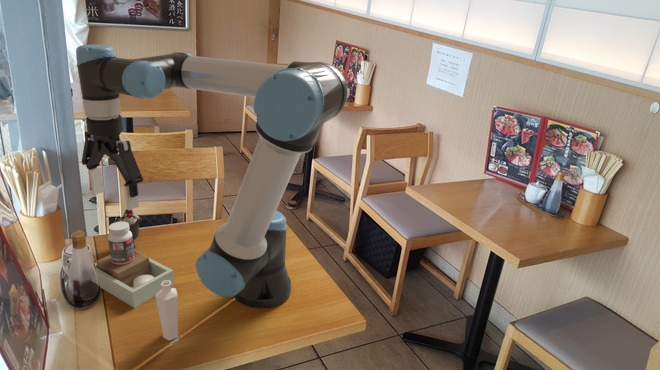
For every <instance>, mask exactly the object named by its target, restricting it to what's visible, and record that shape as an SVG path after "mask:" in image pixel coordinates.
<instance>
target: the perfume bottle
mask: <svg viewBox="0 0 660 370" xmlns="http://www.w3.org/2000/svg"><path fill="white" fill-rule="evenodd" d="M161 286H162V289H161V290H160V291H159V292H158V293H157V294H156V296H155V301H156V306H157V311H158V315H159V321H160V326H161V330H162V338H164V339H165V340H166V341H170V342H169V343H168V345H169V344H170V345H172V344H174V343H176V342H178V341H180V336H179V333H178V332H179V331H178V329H179V328H178V319H179V318H178V315H179V314H178V313H179V312H178V308H179V307H178V306H179V305H178V299H179V298H178V291H177V288H175V287H171V281H163V282H162V283H161Z"/></svg>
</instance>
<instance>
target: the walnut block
mask: <svg viewBox="0 0 660 370" xmlns="http://www.w3.org/2000/svg"><path fill="white" fill-rule="evenodd" d="M136 251H137V250H135V251H134V253H135V258H134V260H133V261H131V262H130V263H127V264H123V265H117V264H114V263H112V261H111V256H110V254H109V255H107V256H104V257H102V258H100V259H97V260H96V262H95V263H97V268H98V269H100V270H101V271H103V272H105V273H107V274H108V275H110V276H112V277H113V278H115V279H117V280H119V281H120V282H122V283H124V284H126V285H127V286H129V287H131V288H132V287H134V283H133V281H134V279H135V278H137V277H138V276H141V275H151V273H150V264H149V258H150V257H148V256H146V255H144V254H143V253H141V254H140V252H139V253H138V251H137V252H136ZM142 254H143V255H142Z"/></svg>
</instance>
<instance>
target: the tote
mask: <svg viewBox="0 0 660 370" xmlns="http://www.w3.org/2000/svg"><path fill="white" fill-rule="evenodd" d="M134 251H136V252H138V251H137V250H135V249H134ZM138 253H140V252H138ZM140 254H142V255H144V254H143V253H140ZM148 258H149V264H150V273H151V276H153V277H154V278H153V279H151V280H150V281H148V282H146V283H144V284H142V285H140V286H139V287H137V288H135V289H134V287H132V288H131V287H129V286H127V285H126V284H124V283H122V282H120V281H119V280H117V279H115V278H113V277H112V276H110V275H108V274H107V273H105V272H103V271H101V270H100V269H98V268H97V263H96V262H95V263H94V264H95V268H96V274H97V278H98V282H99V286H100V287H99V286H98V287H99V288H101V289H103V290H104V291H106V292H107V293H109V294H110V295H112V296H114V297H115V298H117V299H118V300H120V301H122V302H124V303H125V304H128V306H130V307H131V308H134V309H136V308H138V307H139V306H141V305H142V304H145V303H146V302H148V301H150V300H151V299H153V298H154V297H155V296H156V294H157V293H158V292H159V291H160V290H161V289H162V286H161V283H162V282H163V281H171V288H173V286H174V285H175V275H174V270H173V269H171V268H170V267H168V266H166V265H163V263H160V262H158V261H156V260H154V259H152V258H151V257H148ZM155 298H156V297H155Z"/></svg>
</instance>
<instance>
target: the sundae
mask: <svg viewBox="0 0 660 370" xmlns="http://www.w3.org/2000/svg"><path fill="white" fill-rule="evenodd" d="M142 220H143V219H142V217H141V216H140V215H139V214H136V212H135V211H134V210H133V209H132V210H127V208H126V209H125V210H124V213H123V215H122V216H120V217H118V218H117V220H116V222H127V223H128V224H129V228H130V229H129V231H131V233H132V236H133V245H134V250H135V249H136V248H137V245H136V244H135V240H136V239H137V238H138V237H139V235H140V234H139V233H140V223H141V222H142Z"/></svg>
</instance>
